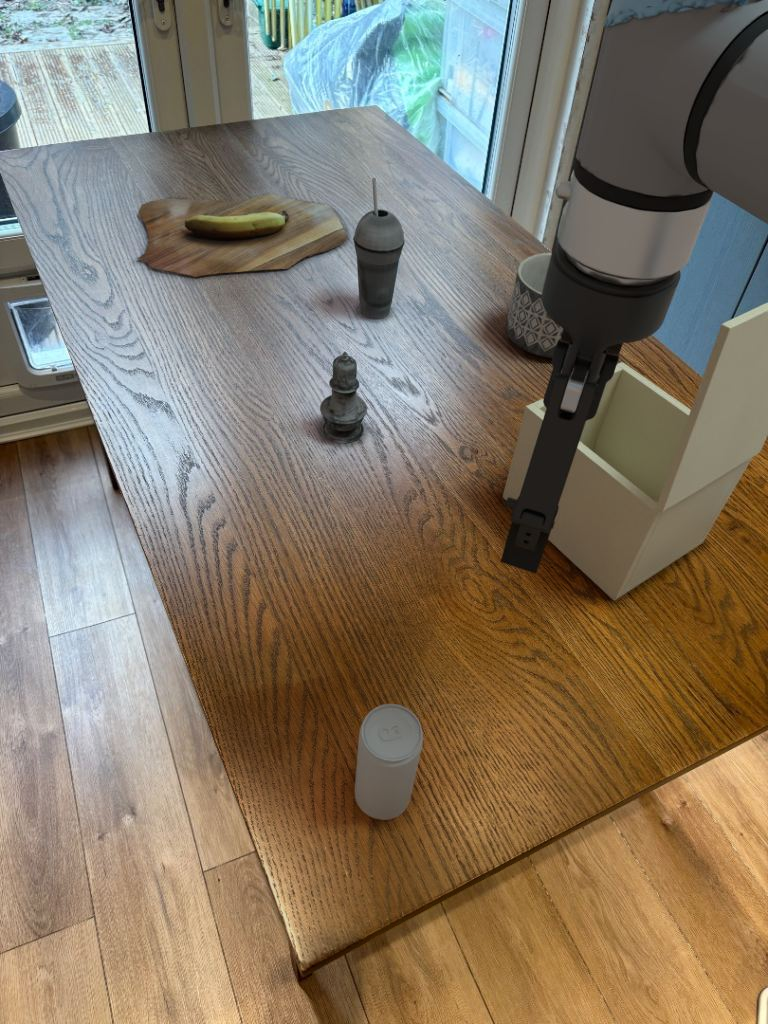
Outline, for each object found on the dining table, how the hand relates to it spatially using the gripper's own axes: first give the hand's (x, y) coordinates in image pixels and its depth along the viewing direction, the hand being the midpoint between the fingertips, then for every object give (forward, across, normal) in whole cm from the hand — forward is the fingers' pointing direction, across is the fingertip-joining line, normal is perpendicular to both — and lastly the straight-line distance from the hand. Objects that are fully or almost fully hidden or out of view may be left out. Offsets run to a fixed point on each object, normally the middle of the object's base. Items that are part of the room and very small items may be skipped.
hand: (540, 502), depth 59 cm
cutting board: (+22, -62, -62) cm, 91 cm away
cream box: (+21, -22, +7) cm, 31 cm away
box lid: (-3, -18, +13) cm, 22 cm away
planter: (+22, -55, -7) cm, 60 cm away
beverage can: (+22, +18, -5) cm, 29 cm away
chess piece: (+22, -24, -27) cm, 42 cm away
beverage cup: (+22, -50, -33) cm, 64 cm away
